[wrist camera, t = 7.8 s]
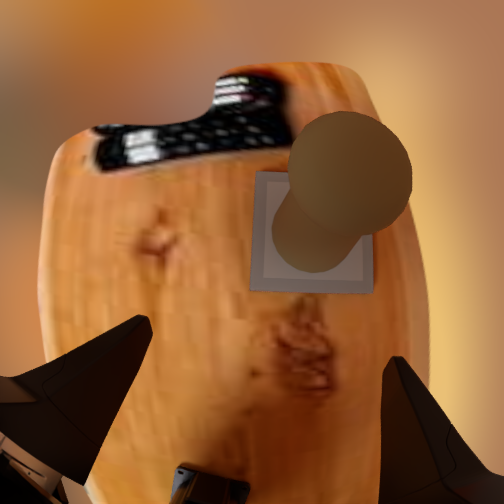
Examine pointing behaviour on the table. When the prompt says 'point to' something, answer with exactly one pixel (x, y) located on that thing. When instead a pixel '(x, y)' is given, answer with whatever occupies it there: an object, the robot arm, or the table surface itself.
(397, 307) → the table surface
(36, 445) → the robot arm
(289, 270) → the coaster
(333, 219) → the cork
